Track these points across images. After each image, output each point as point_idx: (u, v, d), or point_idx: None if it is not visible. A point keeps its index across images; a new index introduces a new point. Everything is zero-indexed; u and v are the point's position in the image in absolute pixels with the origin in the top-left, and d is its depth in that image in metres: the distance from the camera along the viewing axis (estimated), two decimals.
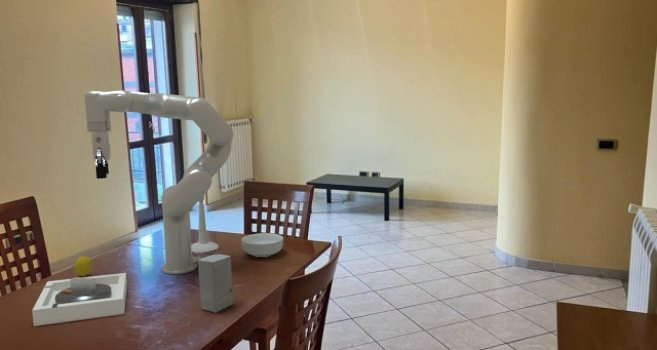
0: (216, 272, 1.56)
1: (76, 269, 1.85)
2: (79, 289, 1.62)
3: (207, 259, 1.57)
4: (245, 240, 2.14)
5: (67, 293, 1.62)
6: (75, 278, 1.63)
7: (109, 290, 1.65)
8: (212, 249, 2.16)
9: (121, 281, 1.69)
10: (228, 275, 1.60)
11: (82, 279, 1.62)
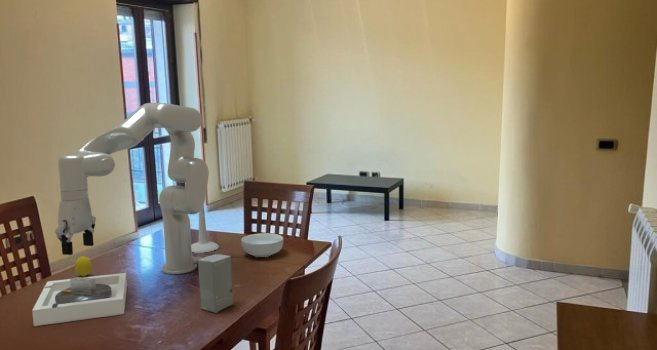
0: (216, 272, 1.55)
1: (76, 269, 1.85)
2: (79, 289, 1.62)
3: (207, 259, 1.57)
4: (245, 240, 2.14)
5: (67, 293, 1.62)
6: (75, 278, 1.63)
7: (109, 290, 1.65)
8: (212, 249, 2.16)
9: (121, 281, 1.69)
10: (228, 275, 1.60)
11: (82, 279, 1.62)
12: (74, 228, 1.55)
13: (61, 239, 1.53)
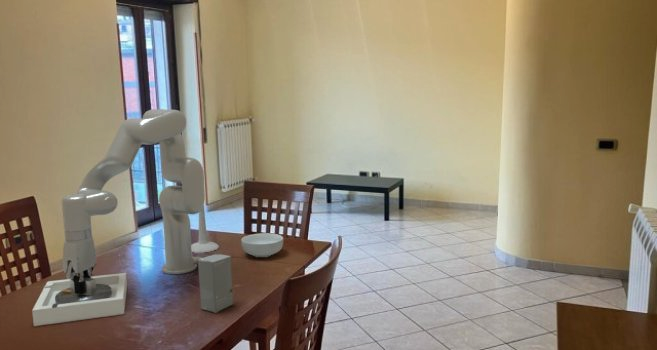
0: (216, 272, 1.56)
1: None
2: None
3: (207, 259, 1.57)
4: (245, 240, 2.14)
5: (67, 293, 1.62)
6: None
7: (109, 290, 1.65)
8: (212, 249, 2.16)
9: (121, 281, 1.69)
10: (228, 275, 1.60)
11: None
12: (79, 268, 1.57)
13: (74, 279, 1.58)
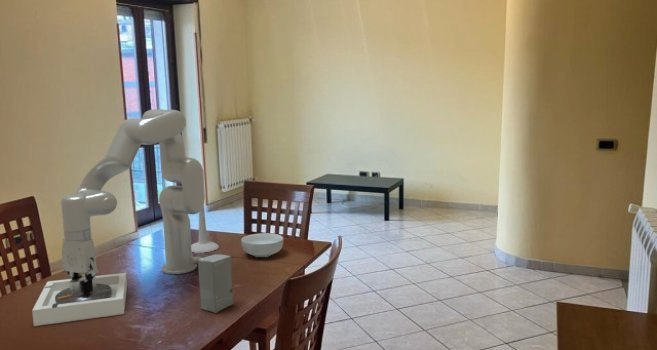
0: (216, 272, 1.55)
1: None
2: (82, 289, 1.61)
3: (207, 259, 1.57)
4: (245, 240, 2.14)
5: (69, 298, 1.59)
6: (73, 281, 1.61)
7: (102, 284, 1.70)
8: (212, 249, 2.16)
9: (121, 281, 1.69)
10: (228, 275, 1.60)
11: None
12: None
13: (91, 277, 1.60)
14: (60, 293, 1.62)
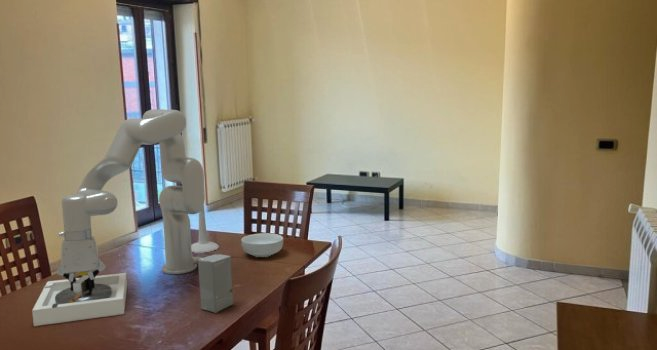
0: (216, 272, 1.55)
1: None
2: (86, 288, 1.62)
3: (207, 259, 1.57)
4: (245, 240, 2.14)
5: (80, 298, 1.58)
6: (78, 282, 1.60)
7: None
8: (212, 249, 2.16)
9: (121, 281, 1.69)
10: (228, 275, 1.60)
11: (83, 278, 1.62)
12: None
13: None
14: (60, 299, 1.58)
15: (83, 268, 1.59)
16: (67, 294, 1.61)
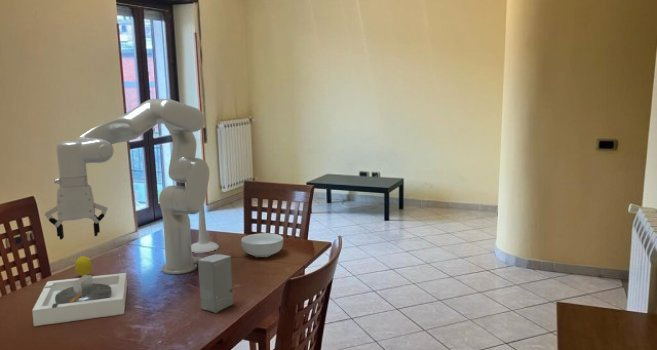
0: (216, 272, 1.56)
1: (76, 269, 1.85)
2: (86, 288, 1.62)
3: (207, 259, 1.57)
4: (245, 240, 2.14)
5: (80, 298, 1.58)
6: (78, 282, 1.60)
7: None
8: (212, 249, 2.16)
9: (121, 281, 1.69)
10: (228, 275, 1.60)
11: (83, 278, 1.62)
12: None
13: None
14: (60, 299, 1.58)
15: (79, 216, 1.57)
16: (67, 294, 1.61)
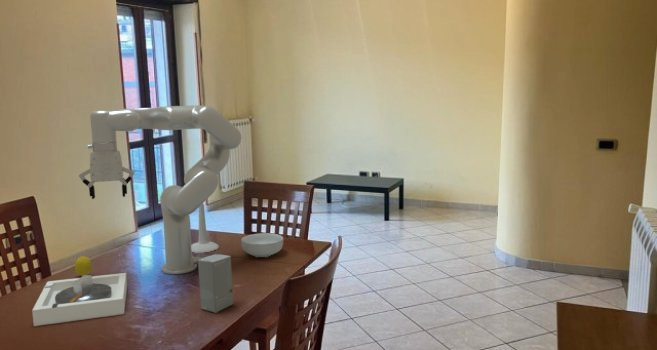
0: (216, 272, 1.56)
1: (76, 269, 1.85)
2: (86, 288, 1.62)
3: (207, 259, 1.57)
4: (245, 240, 2.14)
5: (80, 298, 1.58)
6: (78, 282, 1.60)
7: None
8: (212, 249, 2.16)
9: (121, 281, 1.69)
10: (228, 275, 1.60)
11: (83, 278, 1.62)
12: None
13: (129, 180, 1.79)
14: (60, 299, 1.58)
15: (109, 177, 1.75)
16: (67, 294, 1.61)
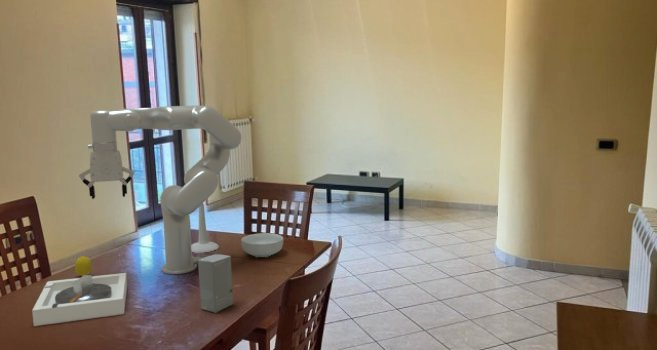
0: (216, 272, 1.55)
1: (76, 269, 1.85)
2: (86, 288, 1.62)
3: (207, 259, 1.57)
4: (245, 240, 2.14)
5: (80, 298, 1.58)
6: (78, 282, 1.60)
7: None
8: (212, 249, 2.16)
9: (121, 281, 1.69)
10: (228, 275, 1.60)
11: (83, 278, 1.62)
12: None
13: (129, 180, 1.79)
14: (60, 299, 1.58)
15: (109, 177, 1.75)
16: (67, 294, 1.61)
